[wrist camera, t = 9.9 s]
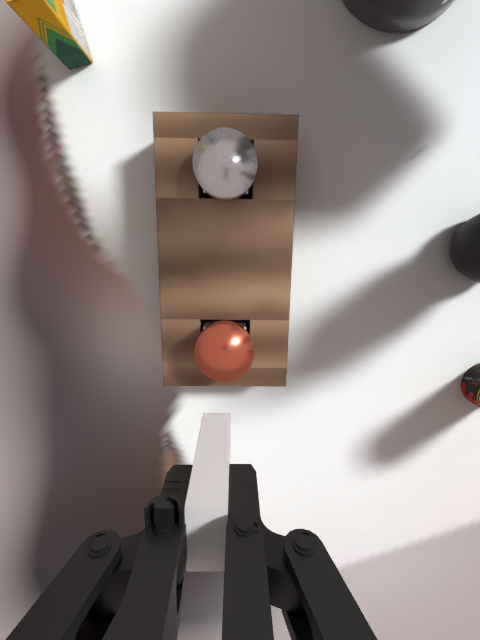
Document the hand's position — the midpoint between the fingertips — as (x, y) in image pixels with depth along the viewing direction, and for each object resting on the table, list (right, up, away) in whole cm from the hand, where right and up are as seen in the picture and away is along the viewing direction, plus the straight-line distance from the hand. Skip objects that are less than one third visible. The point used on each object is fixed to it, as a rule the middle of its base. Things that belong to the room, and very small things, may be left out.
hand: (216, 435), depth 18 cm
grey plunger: (0, +22, +19) cm, 30 cm away
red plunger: (0, +5, +22) cm, 22 cm away
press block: (0, +14, +22) cm, 26 cm away
